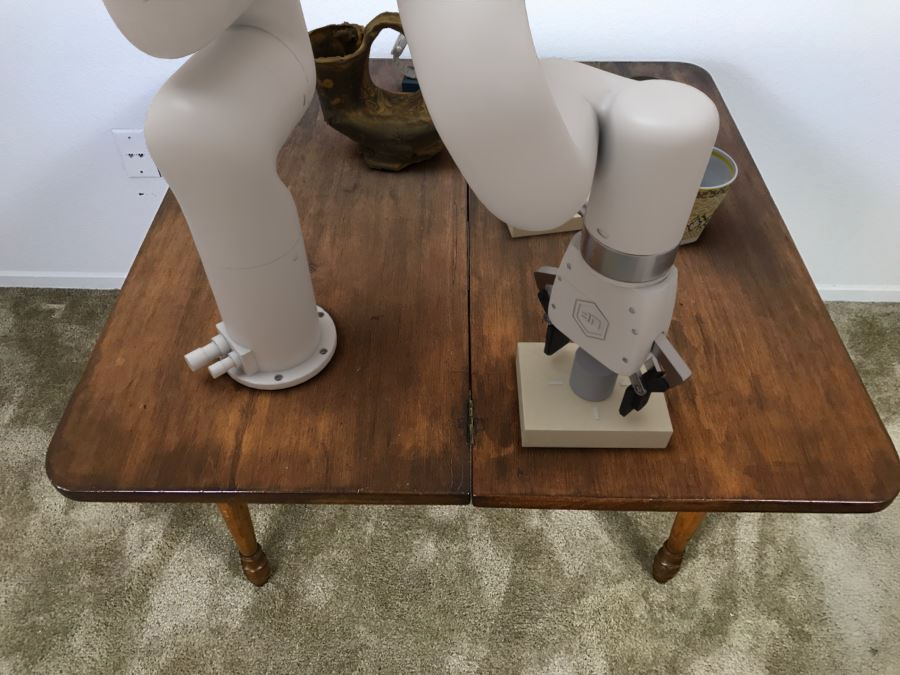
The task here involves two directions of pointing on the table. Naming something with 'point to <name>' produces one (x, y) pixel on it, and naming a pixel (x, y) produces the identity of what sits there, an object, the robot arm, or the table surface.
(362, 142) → the pottery vessel
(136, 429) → the table surface
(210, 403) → the table surface
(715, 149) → the ceramic cup
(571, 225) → the block
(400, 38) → the watch
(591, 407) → the control panel
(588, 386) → the program dial
